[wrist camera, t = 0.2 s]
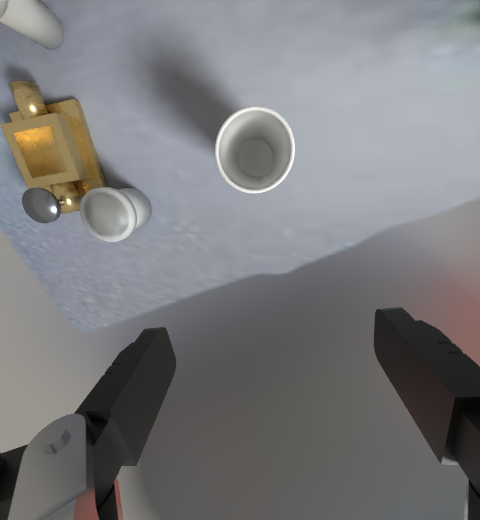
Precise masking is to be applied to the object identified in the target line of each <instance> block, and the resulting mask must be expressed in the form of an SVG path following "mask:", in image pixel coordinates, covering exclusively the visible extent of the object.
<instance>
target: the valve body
mask: <svg viewBox="0 0 480 520" xmlns="http://www.w3.org/2000/svg"><path fill="white" fill-rule="evenodd" d="M8 85H9V87H10V90H11V92H12V95H13V97H14V99H15V102H16V104H17V107H18V109H19V111H17V112H13V113H9V115H10V118H11V120H12V122H10V123H5V124H1V128H2V130H3V132H4V134H5V137H6V139H7V141H8V144H9V146H10V148H11V150H12V153H13V155H14V157H15V160H16V162H17V164H18V166H19V169H20V171H21V173H22V175H23V178H24V180H25V182H26V185H27V187H28V190H27V191H25V193H24V194H23V197H22V204H23V207H24V209H25V211H26V213H27V214H28V215H29V216H30V217H31V218H32V219H33V220H35V221H37V222H40V223H49V222H53V221H55V220H57V219H58V218H59V216H60V213H68V212H74V211H79V210H80V203H81V199H80V197H79V196H82V195H85V194H86V193H87V192H88V191H90V190H92V189H95V188H102V187H107V184H106V181H105V178H104V175H103V172H102V169H101V166H100V163H99V160H98V157H97V154H96V151H95V148H94V145H93V142H92V139H91V136H90V133H89V130H88V127H87V123H86V120H85V117H84V114H83V111H82V108H81V105H80V102H79V101H78V100H75V99H71V100H67V101H62V102H58V103H53V104H49V105H45V103H44V100H43V97H42V95H41V92H40V89H39V87H38V85H37V84H35V83H33V82H29V81H12V82H10V83H9V84H8ZM29 188H31V189H29Z"/></svg>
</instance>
